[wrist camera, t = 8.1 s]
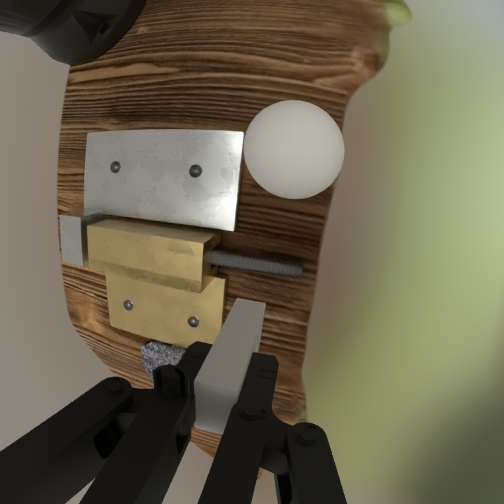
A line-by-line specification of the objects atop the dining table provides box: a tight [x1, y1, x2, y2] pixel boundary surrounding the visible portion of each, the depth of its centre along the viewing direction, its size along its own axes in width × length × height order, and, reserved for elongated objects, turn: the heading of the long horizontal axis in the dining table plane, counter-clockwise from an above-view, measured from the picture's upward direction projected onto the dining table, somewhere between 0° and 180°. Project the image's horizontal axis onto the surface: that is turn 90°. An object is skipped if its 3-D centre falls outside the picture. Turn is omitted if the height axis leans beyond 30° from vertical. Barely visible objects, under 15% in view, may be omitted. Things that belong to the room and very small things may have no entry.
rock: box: [141, 341, 187, 384], centre depth 31 cm, size 12×5×10 cm
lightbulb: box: [243, 100, 345, 199], centre depth 19 cm, size 6×6×11 cm
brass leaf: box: [87, 217, 228, 348], centre depth 28 cm, size 13×14×5 cm
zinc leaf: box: [60, 129, 303, 279], centre depth 25 cm, size 13×24×5 cm, turn 84°
